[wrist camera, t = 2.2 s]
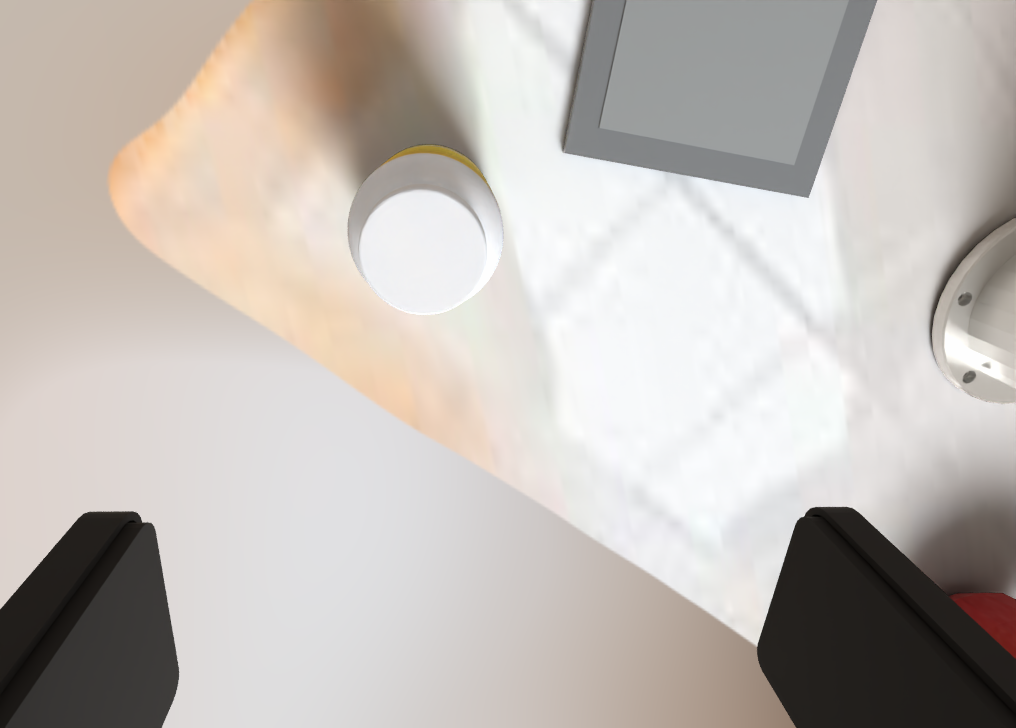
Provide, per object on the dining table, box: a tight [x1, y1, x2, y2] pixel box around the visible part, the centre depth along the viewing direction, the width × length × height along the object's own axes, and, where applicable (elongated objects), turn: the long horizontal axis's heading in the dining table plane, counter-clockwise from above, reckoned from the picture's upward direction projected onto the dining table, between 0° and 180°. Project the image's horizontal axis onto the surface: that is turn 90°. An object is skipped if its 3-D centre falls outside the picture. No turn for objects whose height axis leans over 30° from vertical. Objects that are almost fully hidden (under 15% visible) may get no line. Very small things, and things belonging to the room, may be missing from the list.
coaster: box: [563, 0, 877, 198], centre depth 30 cm, size 14×14×1 cm
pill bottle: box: [348, 144, 504, 315], centre depth 27 cm, size 6×6×12 cm
